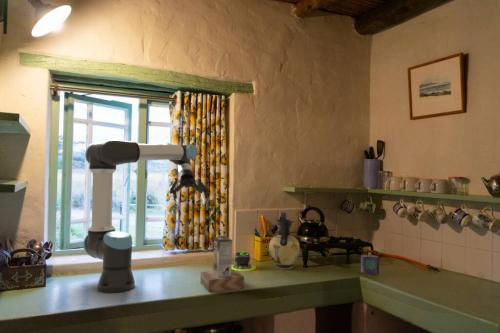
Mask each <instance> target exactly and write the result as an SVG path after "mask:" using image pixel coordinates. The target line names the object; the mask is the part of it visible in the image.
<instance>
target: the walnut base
mask: <svg viewBox="0 0 500 333" xmlns="http://www.w3.org/2000/svg"><path fill="white" fill-rule="evenodd" d="M200 284H201V286H203V287H204V289H205V290H206V291H207V292H208V293H212V292H221V291H232V289H233V290H240V289H241V288H242V289H245V276H244V275H242V274H241V273H239V271H236V270H234V269H231V276H227V277H217V276H216V275H215V274H214V273H213V270H211V271H210V270H209V271H207V270H206V271H201V272H200Z"/></svg>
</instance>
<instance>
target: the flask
mask: <svg viewBox="0 0 500 333" xmlns="http://www.w3.org/2000/svg"><path fill="white" fill-rule="evenodd" d="M360 273H361V274H367V275H368V274H369V275H371V274H372V275H379V274H380V257H379V256H378V255H374V254H372V252H368V255H361V256H360Z"/></svg>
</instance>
